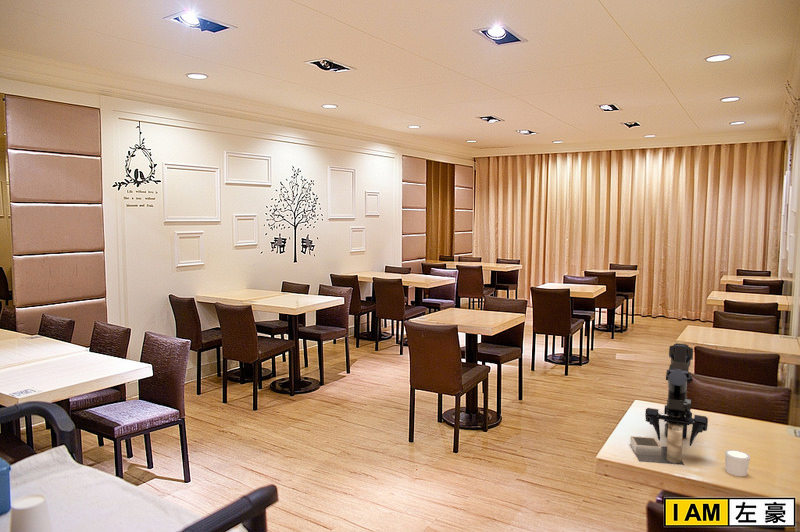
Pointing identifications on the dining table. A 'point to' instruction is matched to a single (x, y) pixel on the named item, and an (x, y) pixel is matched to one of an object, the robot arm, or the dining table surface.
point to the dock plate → (649, 450)
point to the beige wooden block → (674, 442)
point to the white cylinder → (737, 462)
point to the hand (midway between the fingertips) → (674, 442)
